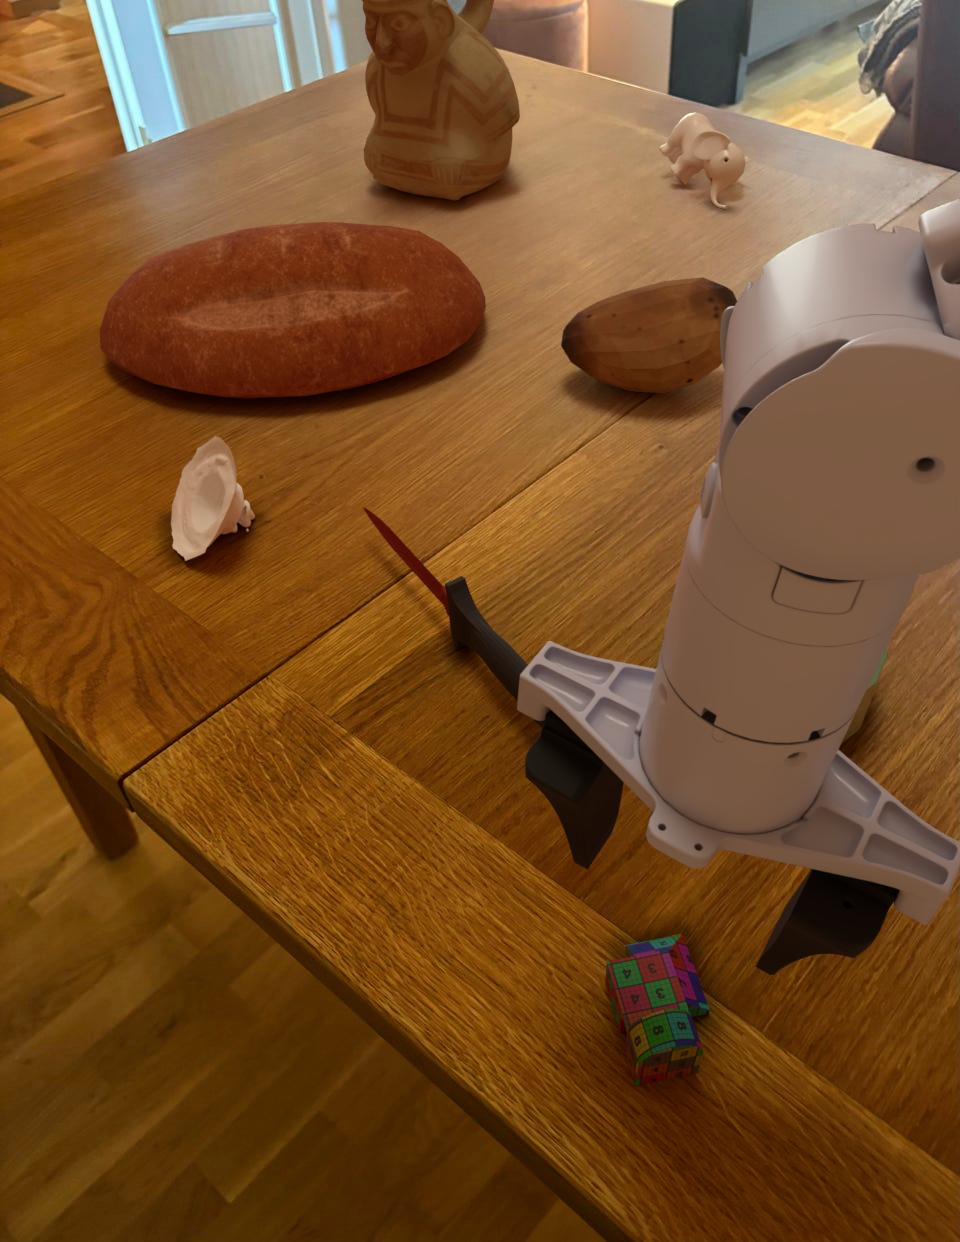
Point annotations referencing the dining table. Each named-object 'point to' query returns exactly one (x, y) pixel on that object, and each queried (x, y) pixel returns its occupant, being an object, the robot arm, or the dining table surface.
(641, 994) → the block
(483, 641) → the knife
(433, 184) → the ceramic vessel
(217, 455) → the seashell
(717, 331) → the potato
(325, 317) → the bread
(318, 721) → the dining table surface
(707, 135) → the elephant figurine
